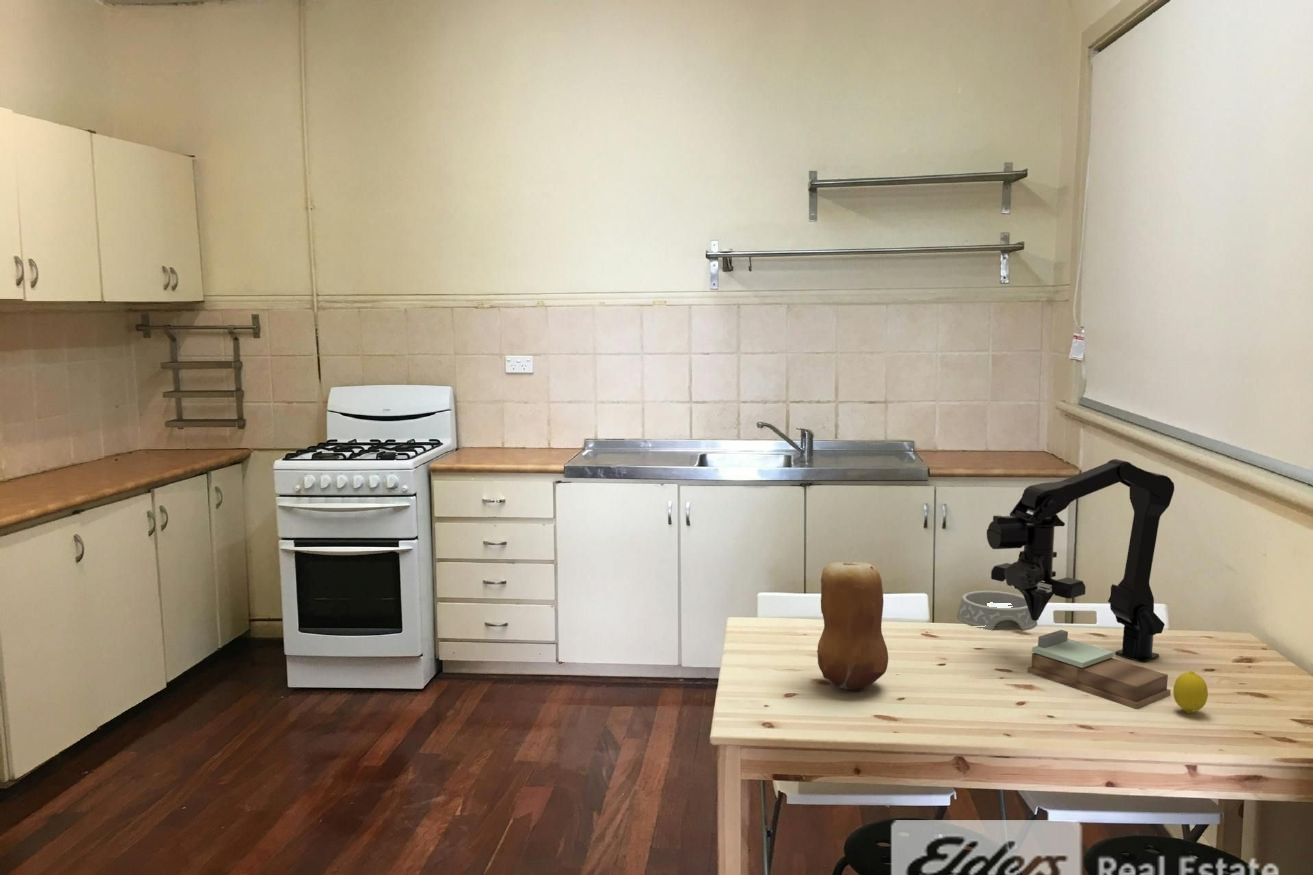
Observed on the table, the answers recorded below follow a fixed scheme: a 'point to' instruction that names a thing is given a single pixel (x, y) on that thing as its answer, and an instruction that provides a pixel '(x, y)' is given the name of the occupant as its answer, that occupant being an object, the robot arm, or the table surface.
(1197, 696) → the lemon
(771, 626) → the table surface
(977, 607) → the dog bowl
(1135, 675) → the wooden box
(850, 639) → the butternut squash
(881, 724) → the table surface
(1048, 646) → the slide cover
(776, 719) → the table surface
